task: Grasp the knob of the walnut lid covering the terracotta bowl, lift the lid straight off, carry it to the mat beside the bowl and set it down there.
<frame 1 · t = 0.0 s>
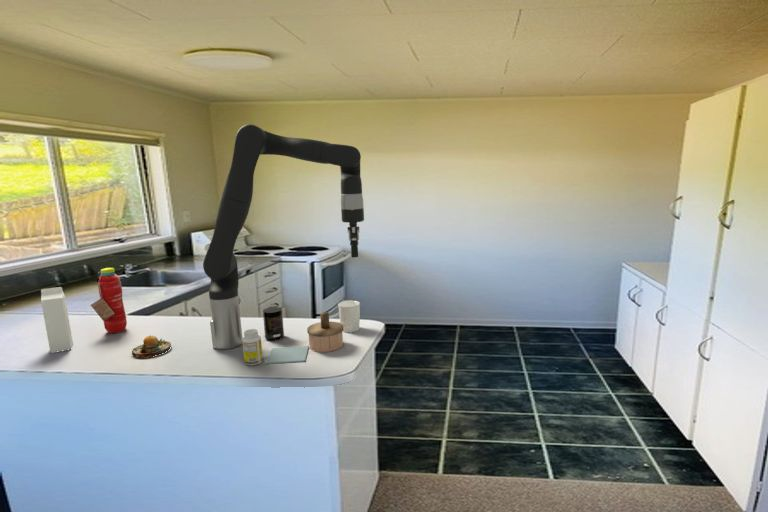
hand: (354, 254, 153), 29 cm above the countertop, tool pointing down, fingers open, 8 cm apart
milk: (62, 349, 157), on the countertop
white cup: (350, 329, 165), on the countertop
supplement container: (274, 338, 160), on the countertop
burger: (152, 352, 151), on the countertop
water bottle: (113, 332, 172), on the countertop
supplement bottle: (253, 363, 139), on the countertop
lid: (325, 330, 149), point 5 cm above the countertop, touching bowl
bowl: (326, 345, 150), on the countertop
mat: (288, 355, 143), on the countertop
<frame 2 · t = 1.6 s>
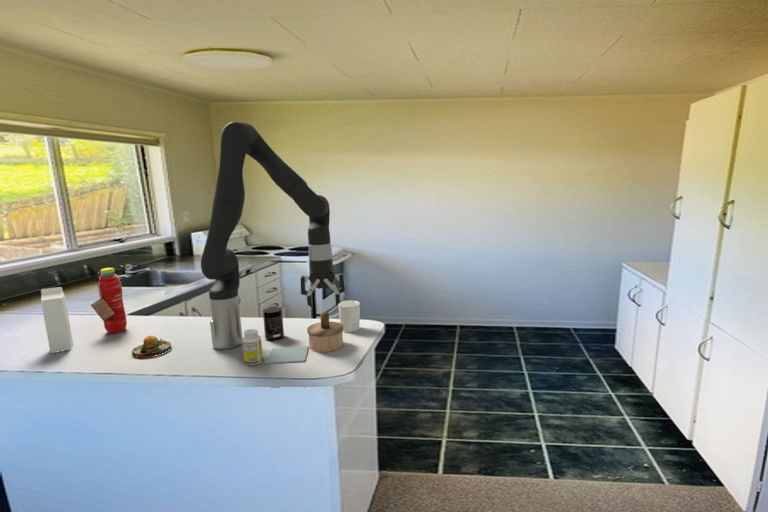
hand: (324, 305, 147), 14 cm above the countertop, tool pointing down, fingers open, 8 cm apart
nothing on the countertop moved.
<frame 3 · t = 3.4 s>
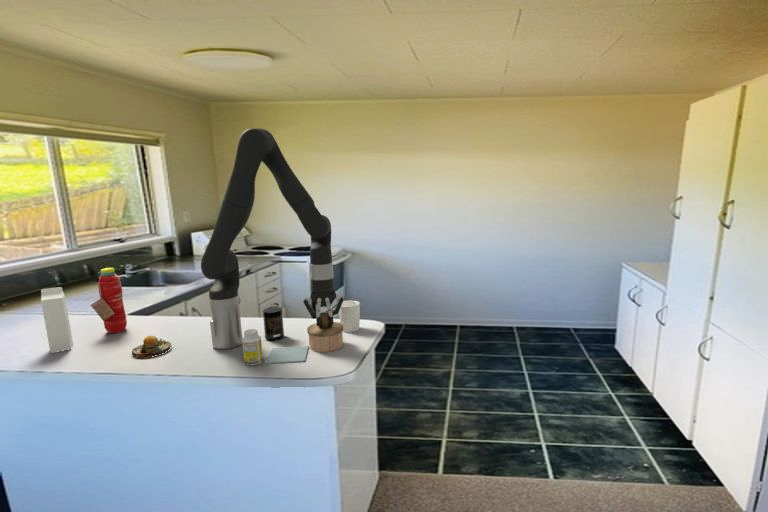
hand: (325, 326, 149), 7 cm above the countertop, tool pointing down, fingers closed on lid, 2 cm apart
lid: (325, 330, 149), point 6 cm above the countertop, touching bowl, gripper
everything else where it was.
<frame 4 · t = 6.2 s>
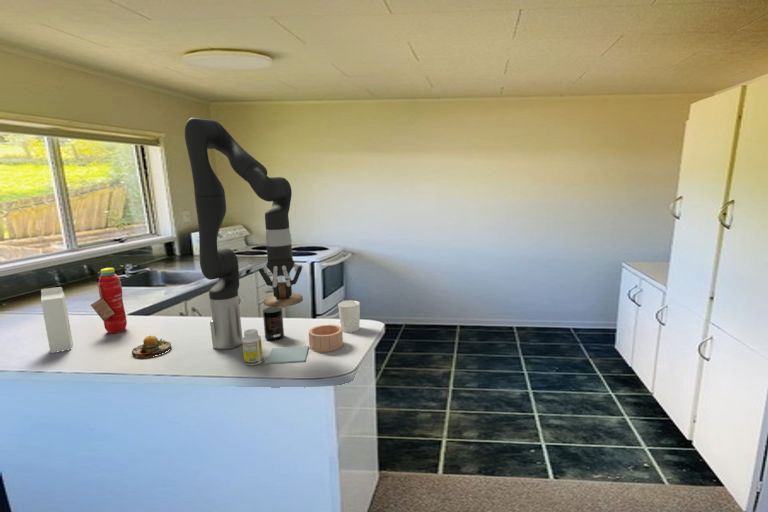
hand: (283, 297, 140), 19 cm above the countertop, tool pointing down, fingers closed on lid, 2 cm apart
lid: (283, 301, 140), point 18 cm above the countertop, touching gripper
everything else where it was.
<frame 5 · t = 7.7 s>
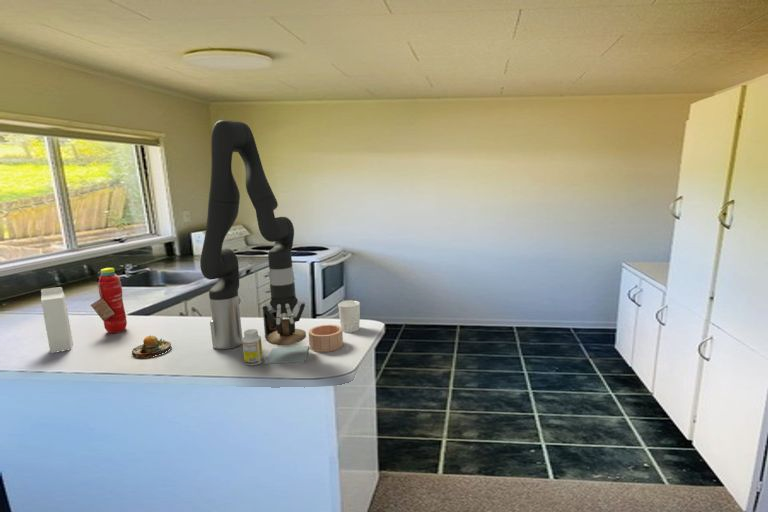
hand: (286, 334, 142), 7 cm above the countertop, tool pointing down, fingers closed on lid, 2 cm apart
lid: (287, 337, 142), point 6 cm above the countertop, touching gripper
everything else where it was.
when the fingers open (3 cm above the countertop, at t = 9.2 s): lid stays where it is, resting on mat.
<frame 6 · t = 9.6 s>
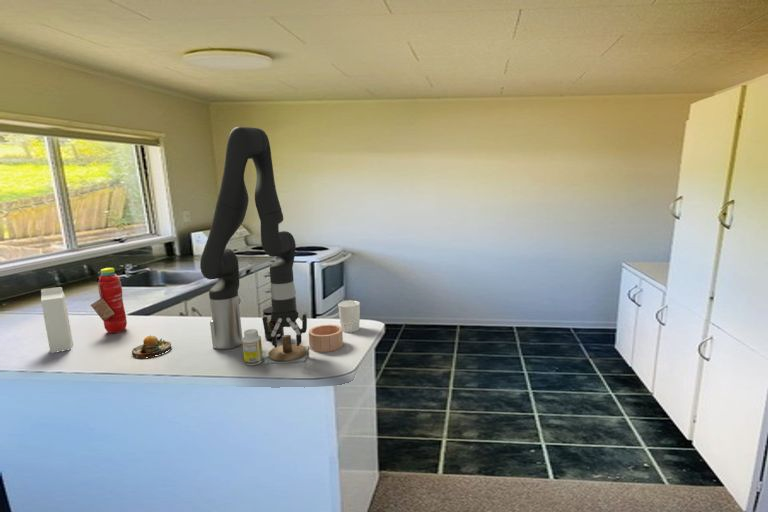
hand: (287, 345, 143), 3 cm above the countertop, tool pointing down, fingers open, 6 cm apart
lid: (287, 354, 143), resting on mat
everything else where it was.
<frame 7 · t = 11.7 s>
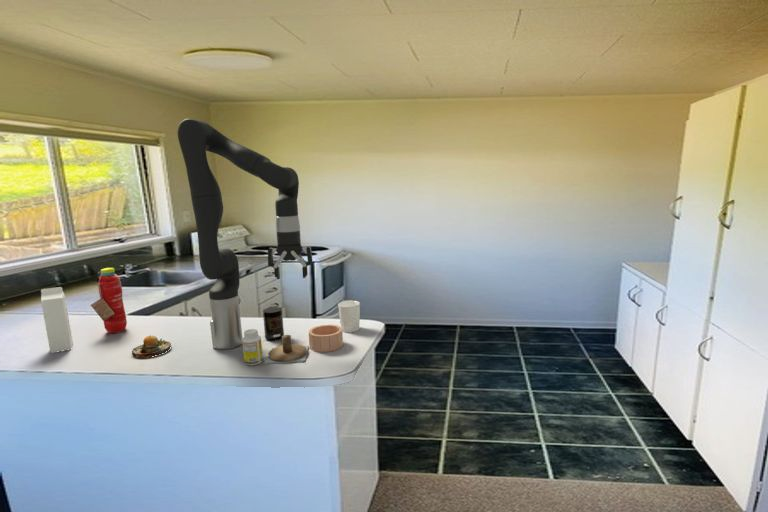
hand: (291, 278, 148), 23 cm above the countertop, tool pointing down, fingers open, 8 cm apart
nothing on the countertop moved.
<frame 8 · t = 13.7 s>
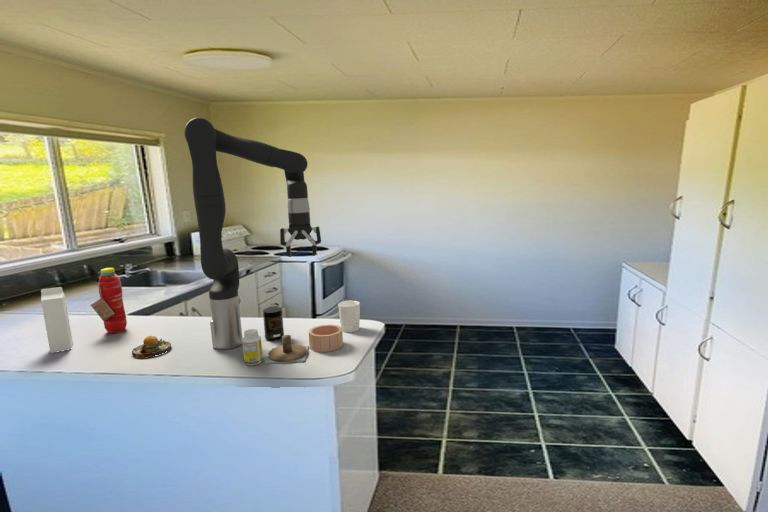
hand: (302, 256, 161), 28 cm above the countertop, tool pointing down, fingers open, 8 cm apart
nothing on the countertop moved.
at the end: lid inside the target area on the mat (0.1 cm from its centre), point 0.4 cm above the mat's base; lid touching mat; lid tilted 0° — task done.
